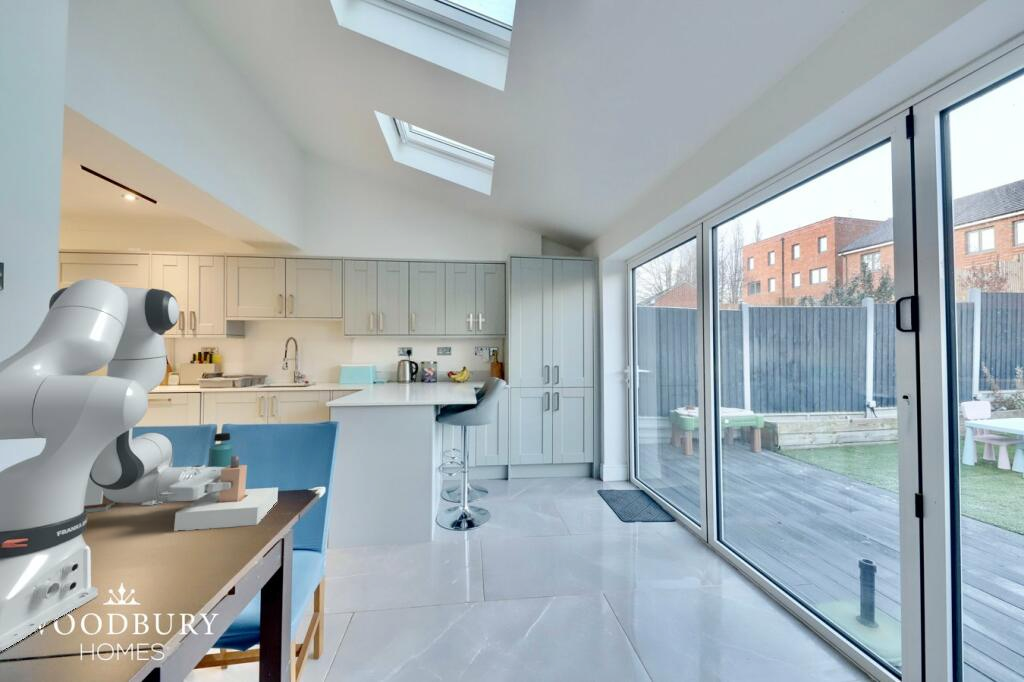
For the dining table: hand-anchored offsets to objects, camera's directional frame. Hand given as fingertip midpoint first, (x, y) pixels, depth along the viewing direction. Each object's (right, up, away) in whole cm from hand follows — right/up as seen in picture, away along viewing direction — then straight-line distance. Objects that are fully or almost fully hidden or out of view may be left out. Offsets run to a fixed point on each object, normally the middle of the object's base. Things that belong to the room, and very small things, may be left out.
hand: (237, 482), depth 108 cm
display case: (-45, -9, +3) cm, 46 cm away
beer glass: (-31, -9, +8) cm, 33 cm away
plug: (-1, -8, -1) cm, 8 cm away
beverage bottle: (-16, -10, +14) cm, 23 cm away
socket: (-1, -9, -1) cm, 9 cm away
